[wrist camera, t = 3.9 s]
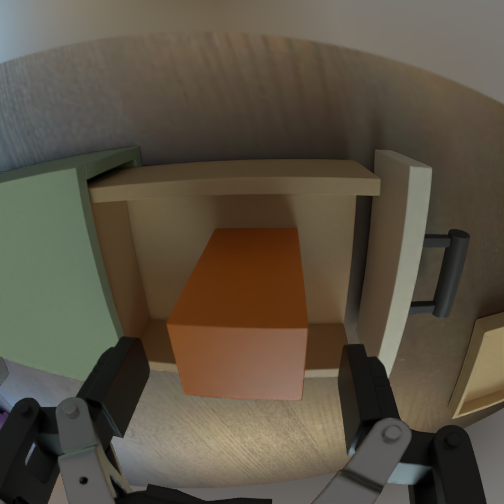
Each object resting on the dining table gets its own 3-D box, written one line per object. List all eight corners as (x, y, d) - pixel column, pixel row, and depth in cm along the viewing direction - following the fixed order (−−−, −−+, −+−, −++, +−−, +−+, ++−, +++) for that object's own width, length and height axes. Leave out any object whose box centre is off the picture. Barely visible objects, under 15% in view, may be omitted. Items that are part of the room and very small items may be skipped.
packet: (297, 227, 19) (309, 327, 10) (296, 285, 21) (302, 400, 12) (215, 228, 20) (165, 323, 11) (220, 284, 21) (184, 395, 13)
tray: (475, 319, 23) (485, 332, 21) (539, 300, 22) (549, 310, 20) (447, 406, 28) (452, 419, 27) (506, 386, 27) (512, 397, 25)
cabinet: (139, 145, 20) (75, 167, 13) (169, 325, 26) (138, 392, 19) (-19, 178, 21) (-75, 204, 15) (19, 308, 27) (-20, 349, 21)
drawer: (449, 156, 17) (499, 176, 12) (418, 326, 23) (442, 376, 17) (118, 158, 19) (67, 178, 14) (150, 325, 25) (124, 374, 20)
